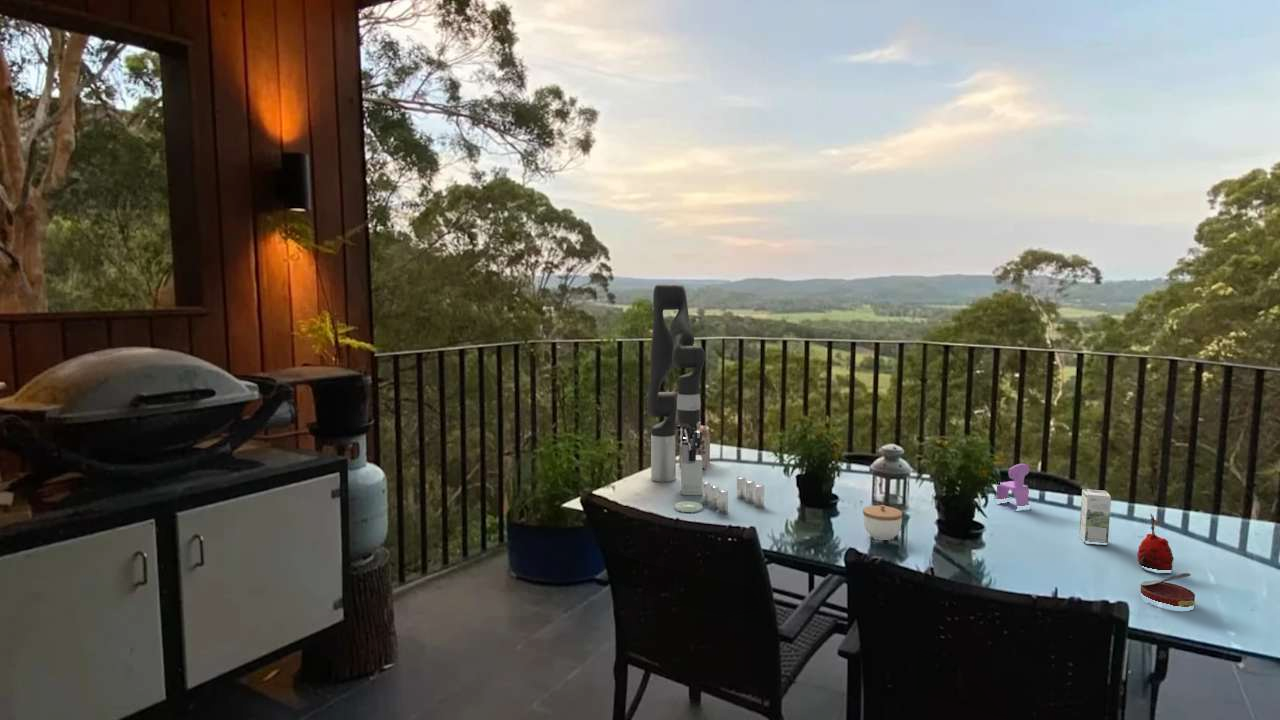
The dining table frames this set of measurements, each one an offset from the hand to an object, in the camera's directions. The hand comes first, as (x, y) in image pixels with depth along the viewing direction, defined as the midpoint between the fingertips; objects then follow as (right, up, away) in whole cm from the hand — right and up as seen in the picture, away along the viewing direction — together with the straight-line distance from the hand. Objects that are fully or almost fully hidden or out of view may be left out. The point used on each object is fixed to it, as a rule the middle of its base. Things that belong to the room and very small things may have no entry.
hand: (688, 459), depth 228 cm
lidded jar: (+54, -19, -26) cm, 63 cm away
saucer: (0, -16, +2) cm, 16 cm away
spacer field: (+15, -16, +5) cm, 22 cm away
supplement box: (+2, -15, +20) cm, 25 cm away
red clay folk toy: (+114, -21, -51) cm, 127 cm away
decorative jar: (+7, -11, +58) cm, 60 cm away
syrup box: (+111, -19, -32) cm, 117 cm away
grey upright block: (0, -1, 0) cm, 1 cm away
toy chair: (+106, -16, +1) cm, 107 cm away
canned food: (+104, -23, -69) cm, 127 cm away
